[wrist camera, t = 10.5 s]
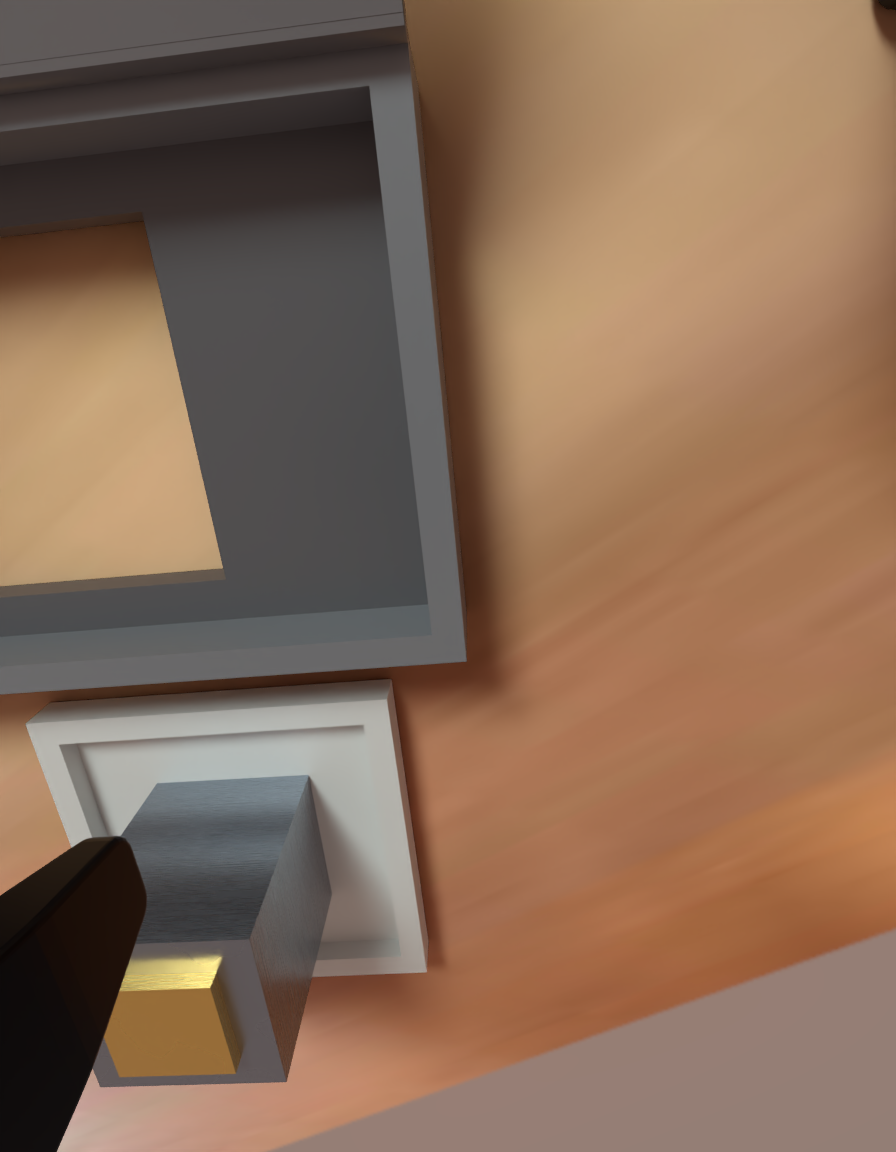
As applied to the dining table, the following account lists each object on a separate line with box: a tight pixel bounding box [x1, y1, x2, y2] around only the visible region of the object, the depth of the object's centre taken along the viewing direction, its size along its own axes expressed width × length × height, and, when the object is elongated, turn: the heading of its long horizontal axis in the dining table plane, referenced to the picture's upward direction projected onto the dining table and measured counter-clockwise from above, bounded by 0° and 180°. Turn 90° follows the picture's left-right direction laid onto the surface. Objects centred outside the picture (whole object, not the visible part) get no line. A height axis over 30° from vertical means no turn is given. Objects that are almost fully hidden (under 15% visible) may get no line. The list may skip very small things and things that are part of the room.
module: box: [93, 775, 332, 1087], centre depth 19 cm, size 5×5×6 cm
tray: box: [25, 679, 429, 977], centre depth 22 cm, size 11×11×1 cm
